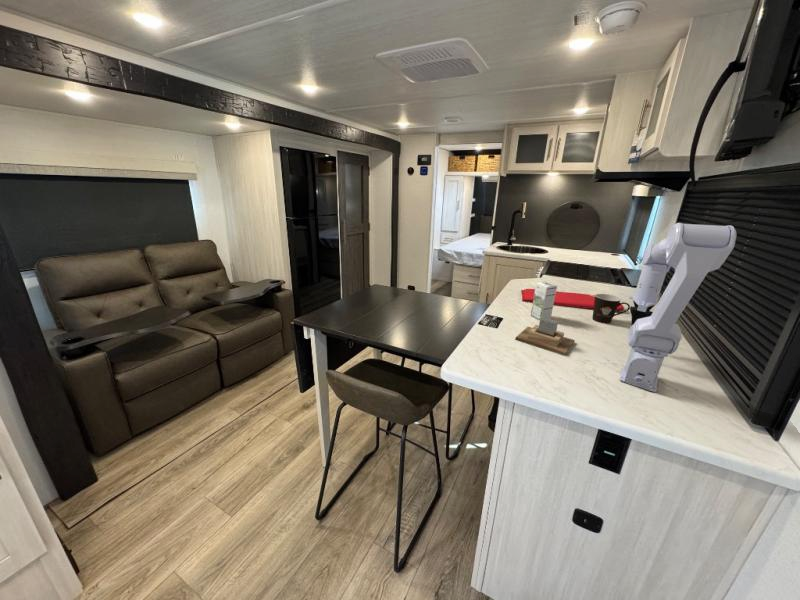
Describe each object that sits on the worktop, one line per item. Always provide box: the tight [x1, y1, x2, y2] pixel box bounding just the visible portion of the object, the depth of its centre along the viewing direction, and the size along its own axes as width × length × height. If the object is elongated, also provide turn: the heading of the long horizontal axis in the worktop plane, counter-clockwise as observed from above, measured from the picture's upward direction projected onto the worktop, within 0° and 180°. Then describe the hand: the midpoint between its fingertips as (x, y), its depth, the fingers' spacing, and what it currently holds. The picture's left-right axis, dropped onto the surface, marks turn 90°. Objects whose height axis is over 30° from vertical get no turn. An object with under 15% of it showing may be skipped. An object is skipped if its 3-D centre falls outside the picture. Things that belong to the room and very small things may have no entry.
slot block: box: [515, 324, 576, 357], centre depth 106 cm, size 12×16×4 cm
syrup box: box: [530, 281, 558, 321], centre depth 124 cm, size 6×6×14 cm
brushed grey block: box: [538, 317, 559, 337], centre depth 105 cm, size 3×5×7 cm, turn 49°
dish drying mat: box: [520, 288, 625, 312], centre depth 144 cm, size 16×41×4 cm, turn 72°
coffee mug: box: [592, 293, 631, 325], centre depth 122 cm, size 12×9×10 cm
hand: (636, 326), depth 97 cm, fingers open, 7 cm apart
